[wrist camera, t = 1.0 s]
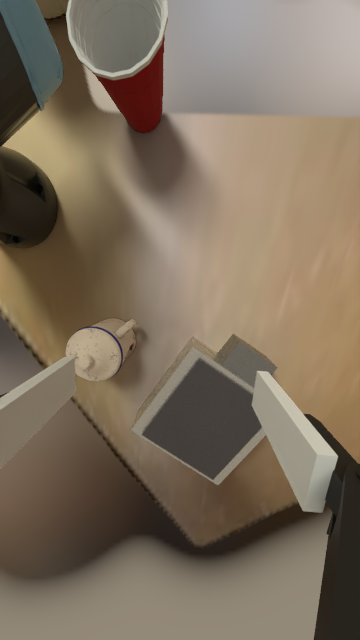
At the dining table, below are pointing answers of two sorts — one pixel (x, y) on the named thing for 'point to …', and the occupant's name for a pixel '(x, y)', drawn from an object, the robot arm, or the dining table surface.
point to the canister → (52, 7)
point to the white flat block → (206, 408)
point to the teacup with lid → (101, 348)
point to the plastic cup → (123, 52)
